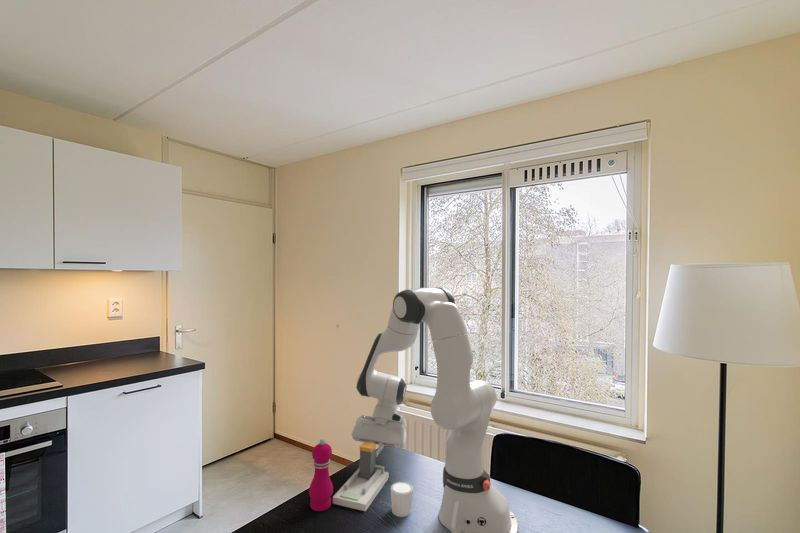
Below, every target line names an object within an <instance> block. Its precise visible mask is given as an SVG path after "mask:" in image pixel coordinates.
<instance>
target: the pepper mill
mask: <svg viewBox="0 0 800 533" xmlns="http://www.w3.org/2000/svg"><path fill="white" fill-rule="evenodd" d="M311 452H312V453H311V455H312V456H311V457H312V459H313V467H314V474H313V478H312V480H311V483H310V484H309V488H308V495H309V497H310V500H309V501H310V503H309V508H311V510H312V511H315V512H323V511H326V510H328V509H329V508H330V507H331V505H332V495H333V492H334V486H333V482H332V480H331V477H330V473H329V466H331V457H332V455H333V449H332V447H331V445H330V444H328V443H326V439H324V438H321V439H320V440H319V442H318V444H315V445H314V447H313V449H312V451H311Z"/></svg>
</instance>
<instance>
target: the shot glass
mask: <svg viewBox="0 0 800 533" xmlns="http://www.w3.org/2000/svg"><path fill="white" fill-rule="evenodd" d="M413 495H414V487H413V485H412V484H411V483H409V482H406V481H397V482H394V483H393V484H391V485H390V499H391V500H390V502H391V512H392V515H394V516H396V517H399V518H405V517H407V516H409V515H410V514H411V512H412V503H413Z"/></svg>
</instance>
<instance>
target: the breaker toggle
mask: <svg viewBox="0 0 800 533" xmlns="http://www.w3.org/2000/svg"><path fill="white" fill-rule="evenodd" d="M376 448H377V444H375V443H370V442H362V444H361V445H360V446H359V463H360V474H359V477H361V478H366V479H370V478H371V477H372V476H373V474H374V473H375V465H376V457H375V450H377V449H376Z"/></svg>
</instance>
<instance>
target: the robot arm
mask: <svg viewBox="0 0 800 533" xmlns="http://www.w3.org/2000/svg"><path fill="white" fill-rule="evenodd" d="M392 302H393V303H392V308H391V311H390V315H389V319H388V322H387V327H386V329H385V330H384V331H383V332H380V333H378V334H377V335H376V337H375V338H374V341H373V344H372V346H371V348H370V350H369V353H368V355H367V358H366V360H365V364H364V366H363V368H362V370H361V372H360V373H359V375H358V377H357V379H356V384H355V385H356V390H357V392H358V393H359V395H360V396H362V397H367V398H373V399H376V400H377V402H376V404H375V406H374V409H373V412H372V416H371V415H360V416H359V417H357V419H356V422H355V425H354V427H353V429H352V431H351V437H352V439H353V440H354V441H356V442H361V443H364V442H370V443H375V444H376V445H378V447H376V448H377V449H375V458H378V457H379V454H380V453H381V452H382V450H384V447H391V448H395V449H396V448H397V449H403V448H404V447H405V446H406V442H407V430H406V429H407V426H408V425H407V422H406V420H405V418H404V417H403V416H402V415H401V414H398V408H399V407H400V405H401V404H402V403H403V402H404V398H405V394H406V391H407V384H406V382H405V380H404V379H403V378H402V377H400V376H398V375H393V374H388V373H385V372H382V371H377V369H375V368H376V366H377V363H378V361H379V358H380V356H381V355H383V354H387V353H388V354H389V353H395V352H396V353H397V352H398V353H399V352H403V351H406V350H408V349H409V348H411V347H412V346H414V344H415V342H416V340H417V337H418V333H419V328H420V323H421V322H422V323H424V324H426V325H427V327H428V328H429V332H430V338H431V343H432V347H433V352H434V357H435V361H436V362H435V363H436V368H437V369H436V370H437V371H436V372H437V373H436V374H437V375H436V376H437V380H436V389H435V392H434V395H433V398H432V399H431V402H430V415H431V417H432V419H433V421H434V423H435V424H436V425H437V426H438V427H439V428H441V429H443V430H447V431H449V430H450V431H449V432H448V434H447V437H446V439H445V445H444V446H445V454H444V456H445V458H444V467H443V470H442V487H443V493H442V498H441V505H440V508H439V510H438V519H439V522H440V523H441V525H442V526H444V527H445V528H446V529H447V530H448V531H449V532H450V533H519V524H518V519H517V517H516V515H515V514H514V513H513V512H512V511H511V510H510V507H509V503H508V501H507V498H506V497H505V496H504V495H503V494H502V492H499V490H497V489H496V488H495V487H494V486H493V485H491V476H490V475H491V474H490V471H489V470H488V471H486V470H484V454H485V453H484V452H485V451H484V450H485V448H484V447H485V441H486V437H487V436H486V435H487V431H488V428H489V422H490V418H491V415H492V411H493V409H494V408H495V405H496V403H497V392H496V390H495V387H494V386H493V385H492V384H491V383H490V382H488V381H486V380H484V379H471V368H472V365H473V363H474V355H473V352H472V348H471V344H470V338H469V335H468V331H467V328H466V325H465V321H464V319H463V317H462V313H461V311H460V309H459V307H458V306H457V304H456V303H455V297H454V295H453V293H452V291H450V290H449V289H447V288H444V287H418V288H413V289H404V290H402V291H400V292H398V293H396V295H395V296H394V298H393V301H392Z"/></svg>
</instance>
